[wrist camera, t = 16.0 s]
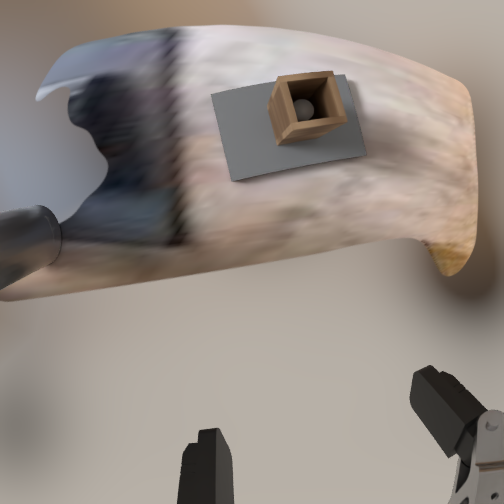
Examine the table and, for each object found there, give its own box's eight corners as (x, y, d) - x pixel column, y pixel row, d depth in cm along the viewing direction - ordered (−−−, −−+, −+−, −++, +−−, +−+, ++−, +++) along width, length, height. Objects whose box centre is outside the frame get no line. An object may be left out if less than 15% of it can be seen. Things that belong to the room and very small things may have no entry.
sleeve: (276, 145, 31) (292, 129, 22) (266, 106, 30) (277, 76, 20) (317, 138, 31) (347, 122, 22) (307, 99, 30) (332, 70, 20)
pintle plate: (232, 181, 34) (230, 180, 26) (211, 97, 31) (205, 76, 24) (361, 156, 33) (389, 151, 26) (341, 78, 31) (363, 57, 23)
